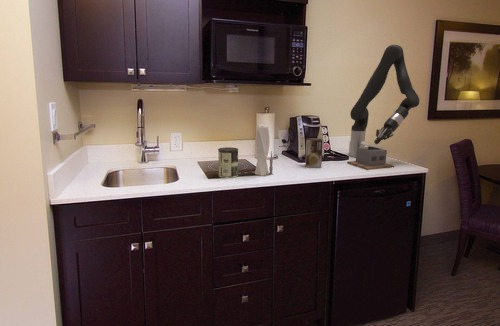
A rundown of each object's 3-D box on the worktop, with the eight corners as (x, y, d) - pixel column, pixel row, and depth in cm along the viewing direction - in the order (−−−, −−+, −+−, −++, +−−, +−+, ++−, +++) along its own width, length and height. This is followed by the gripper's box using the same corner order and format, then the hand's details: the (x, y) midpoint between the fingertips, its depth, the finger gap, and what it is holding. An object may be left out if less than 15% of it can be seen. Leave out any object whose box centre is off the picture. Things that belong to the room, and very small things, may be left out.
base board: (347, 163, 223) (347, 161, 223) (373, 161, 230) (373, 159, 230) (366, 169, 207) (366, 167, 206) (394, 167, 214) (394, 165, 214)
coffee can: (235, 172, 196) (235, 146, 193) (240, 177, 186) (240, 150, 183) (216, 173, 193) (216, 147, 190) (220, 178, 184) (220, 151, 181)
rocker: (361, 143, 217) (361, 140, 216) (375, 147, 221) (375, 144, 221) (367, 145, 211) (368, 142, 211) (382, 149, 216) (382, 146, 215)
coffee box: (320, 165, 217) (321, 138, 213) (321, 167, 211) (323, 140, 207) (304, 164, 218) (306, 138, 214) (305, 167, 211) (306, 139, 208)
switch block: (355, 162, 222) (356, 145, 219) (371, 160, 226) (373, 145, 224) (369, 166, 210) (370, 149, 208) (385, 164, 215) (387, 148, 213)
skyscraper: (262, 177, 188) (264, 123, 182) (251, 174, 193) (252, 121, 188) (273, 174, 194) (274, 121, 188) (261, 172, 199) (262, 120, 194)
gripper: (382, 116, 223) (364, 137, 221) (399, 118, 211) (380, 140, 209) (388, 125, 226) (371, 145, 224) (405, 127, 214) (386, 149, 212)
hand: (375, 143), depth 217 cm, fingers closed
